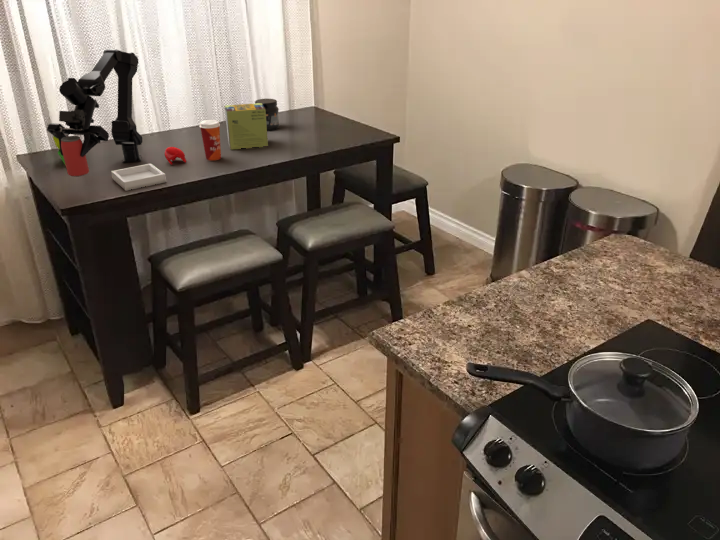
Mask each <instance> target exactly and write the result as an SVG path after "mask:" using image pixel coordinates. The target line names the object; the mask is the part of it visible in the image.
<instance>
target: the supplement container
mask: <svg viewBox="0 0 720 540" xmlns="http://www.w3.org/2000/svg"><path fill="white" fill-rule="evenodd" d="M255 103H262V105H263V106H264V107H265V110H266V125H267V130H269V131H274V130H273V129H275V130H277V129H279V127H280V119H279V118H280V115H279V114H280V113H279V107H278V100H276V99H274V98H259V99H257V100H255V101H254V104H255Z"/></svg>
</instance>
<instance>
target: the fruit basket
mask: <svg viewBox="0 0 720 540" xmlns="http://www.w3.org/2000/svg"><path fill="white" fill-rule="evenodd" d="M52 140H53V142H54V145H55V146H56V148H57V149H58V151H57V154H58V156H59V157H60V159H61V161H62V163H63V164H64V165H65V166H66V164H65V160H64V156H62V155H61V153H60V145H59V140H58V138H56V137H54V136H53V135H52Z"/></svg>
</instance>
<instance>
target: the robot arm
mask: <svg viewBox="0 0 720 540" xmlns="http://www.w3.org/2000/svg"><path fill="white" fill-rule="evenodd" d="M138 66H139V57H138V56H137V55H136V54H135V52H130V51H128V52H126V51H122V50H119V49H114V48H108V49H105V50H104V51H103V54H102V56H101V57H100V59H99V60H98V62H97V63H96V64H95V66H94V67H93V68H92V70H91V71H90V72H88V73H86V74H83V75H82V76H81V77H80V78H79V79H78V80H77V79H76V78H75V77H68V78H67V80H66V81H64V82H62V83H61V85H60V86H59V93H60V94H61V95H62V96H63V98H65V99H66V100H67V101H68V102H69V103H70V104H72V105H73V106H74V110H70V111H69V110H59V112H58V113H59V115H58V119H59V120H58V121H59V122H64V123H65V125H66V126H67V127H66V126H64V125H63V124H61V123H56V122H55V123H53V122H52V123H48V125H47V127H46V131H47V132H48V133H49V134H51V135H52V137H53V136H54V137H56V138H58V140H59V145H60V153H61V155H62V156H63V152H62V148H61V139H62V138H64V137H67V136H70V135H72V136H83V141H82V143H83V145H82V149H81V154H80V156H81V157H84V156H85V155H87V154H88V152H90V150H91V149H93V148H94V147H96V145H98V144H101V142H108V141H109V138H110V137H109V136H110V135H109V132H108V130H107V131H106V130H105V128H104V127H103V126H102V125H92V124H94V122H95V120H94V119H93V118H94V117H93V116H94V113H95V108H96V109H99V108H100V104H99V103H98V100H97V99H94V98H93V97H101V96H102V95H103V93H104V91H105V89H106V84H105V82H106V80H107V78H108V77H109V75H110V74H111V73H112V71H114V72H115V74H116V76H117V117H116V119H114V120H112V121H111V130H110V131H111V138H112V139H113V141H114V143H115V145H116V146H118V145H119V146H121V150H122V155H123V156H122V163H134V162H135V163H136V162H141V161H142V155H141V154H140V151H139V146H141V145H142V143H143V136H142V135H141V134H140V133H139V131H137V124H136V123H135V121H134V120H133V78H134V76H136V74H137V73H138Z"/></svg>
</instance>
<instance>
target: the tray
mask: <svg viewBox="0 0 720 540" xmlns="http://www.w3.org/2000/svg"><path fill="white" fill-rule="evenodd" d="M110 172H111V177H112V180H113V181H114V182H115V183H116V184H117V185H119V186H120V187H121V188H122V189H123V190H124V191H126V192H127V191H132V190H136V189H141V187H142V188H145V186H146V187H152V186H155V184H156V185H159V184H164V183H167V178H166V173H164V172H163V171H161V170H160V169H159V168H157V167H156V166H155V165H154V164H152V163H151V162H150V163H144V164H141V165H135V166H130V167H125V168H121V169H115V170H111V171H110ZM131 189H132V190H131Z"/></svg>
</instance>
